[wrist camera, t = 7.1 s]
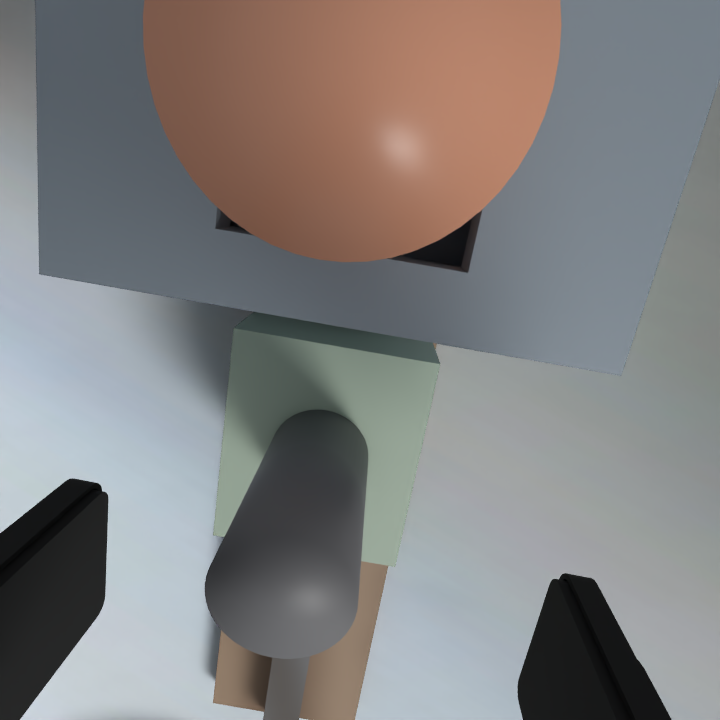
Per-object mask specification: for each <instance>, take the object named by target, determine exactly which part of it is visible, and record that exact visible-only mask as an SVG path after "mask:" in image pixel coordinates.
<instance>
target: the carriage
mask: <svg viewBox="0 0 720 720" xmlns="http://www.w3.org/2000/svg"><path fill="white" fill-rule="evenodd" d="M439 367H440V362H439V359H438V356H437V353H436V351H435V348H434V345H433V343H430V342H425V341H419V340H413V339H407V338H402V337H396V336H390V335H384V334H379V333H373V332H367V331H362V330H356V329H350V328H344V327H339V326H333V325H327V324H321V323H316V322H310V321H304V320H299V319H293V318H287V317H281V316H276V315H270V314H264V313H258V312H253V313H252V314H251V315H250V316H248V317H247V318H246V319H244V320H243V321H242V322H241V323H239V324H238V325H237V326H236V327H234V328H233V338H232V348H231V358H230V369H229V379H228V389H227V399H226V409H225V420H224V430H223V440H222V450H221V460H220V471H219V481H218V491H217V501H216V511H215V521H214V532H213V535H214V536H220V537H224V539H223V541H222V543H221V545H220V547H219V549H218V551H217V553H216V555H215V557H214V559H213V561H212V563H211V565H210V568H209V570H208V573H207V576H206V581H205V597H206V603H207V606H208V609H209V611H210V614H211V616H212V618H213V619H214V621H215V623H216V624H217V625H218V627H219V628H220V629H221V630H222V631H223V632H224V633H225V634H226V635H227V636H228V637H229V638H230V639H231V640H233V641H234V642H235V643H237V644H238V645H240V646H242V647H243V648H245V649H247V650H250V651H252V652H254V653H257V654H260V655H263V656H267V657H272V658H280V659H296V658H304V657H309V656H312V655H315V654H318V653H321V652H323V651H325V650H327V649H329V648H330V647H332V646H333V645H335V644H336V643H337V642H339V641H340V640H341V639H342V638H343V637H344V636H345V635H346V633H347V632H348V631H349V629H350V628H351V626H352V624H353V622H354V620H355V617H356V613H357V608H358V599H359V585H360V570H361V561H364V562H369V563H375V564H381V565H387V566H392V567H395V565H396V561H397V556H398V552H399V547H400V543H401V538H402V534H403V529H404V525H405V520H406V516H407V511H408V507H409V502H410V498H411V493H412V489H413V484H414V480H415V475H416V471H417V466H418V462H419V457H420V453H421V448H422V444H423V439H424V435H425V430H426V426H427V421H428V417H429V412H430V408H431V403H432V399H433V394H434V390H435V385H436V381H437V376H438V372H439Z"/></svg>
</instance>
